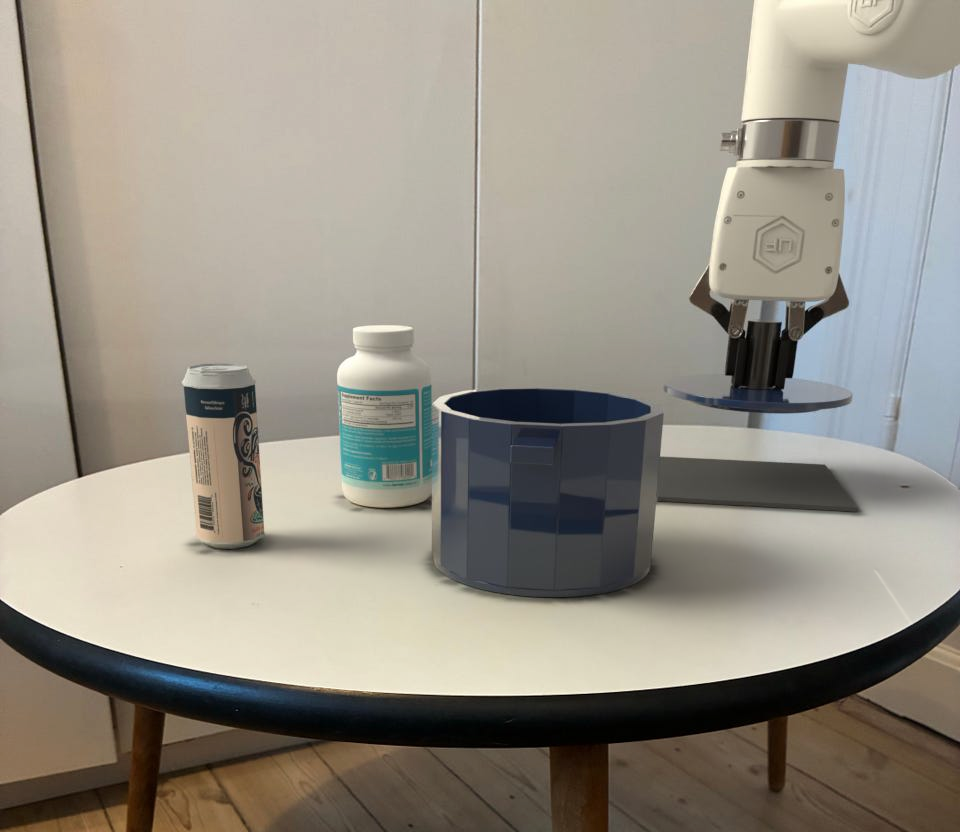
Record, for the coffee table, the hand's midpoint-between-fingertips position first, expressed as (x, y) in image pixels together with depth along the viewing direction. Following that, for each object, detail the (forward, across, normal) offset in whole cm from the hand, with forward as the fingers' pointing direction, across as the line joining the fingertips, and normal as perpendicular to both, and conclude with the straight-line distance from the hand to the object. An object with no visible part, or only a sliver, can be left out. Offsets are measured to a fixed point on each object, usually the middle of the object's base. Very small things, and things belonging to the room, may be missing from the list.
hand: (757, 384), depth 88 cm
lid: (+1, 0, 0) cm, 1 cm away
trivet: (+9, 0, 0) cm, 9 cm away
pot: (+9, -16, -26) cm, 32 cm away
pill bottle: (+9, -30, -12) cm, 33 cm away
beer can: (+9, -38, -26) cm, 47 cm away
